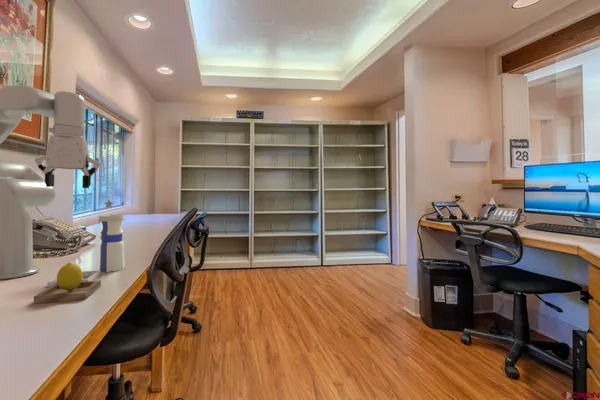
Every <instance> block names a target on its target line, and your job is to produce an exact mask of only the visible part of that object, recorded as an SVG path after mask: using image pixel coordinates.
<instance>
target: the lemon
mask: <svg viewBox="0 0 600 400" xmlns="http://www.w3.org/2000/svg"><path fill="white" fill-rule="evenodd" d="M82 271H83V270H82V267H80V265H78V264H76V263H72V262H67V264H65V265H63V266H62V267H60V268H59V270H58V272H57V275H56V277H57V284H58V286H59V287H60V288H61V289H64V290H67V291H69V292H71V291H73V290H74V289H75V288H77V287H78V286H79V285H80V284H81V282H82V279H84V278H83V277H84V276H83V274H82Z"/></svg>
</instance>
